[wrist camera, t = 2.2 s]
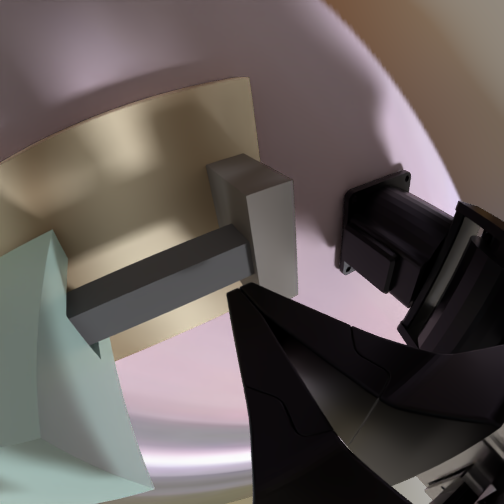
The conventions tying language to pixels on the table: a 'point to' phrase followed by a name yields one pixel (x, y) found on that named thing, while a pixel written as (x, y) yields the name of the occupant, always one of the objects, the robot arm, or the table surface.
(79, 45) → the table surface
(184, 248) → the long grey square rod
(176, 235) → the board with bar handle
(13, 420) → the pale teal block
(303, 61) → the table surface
